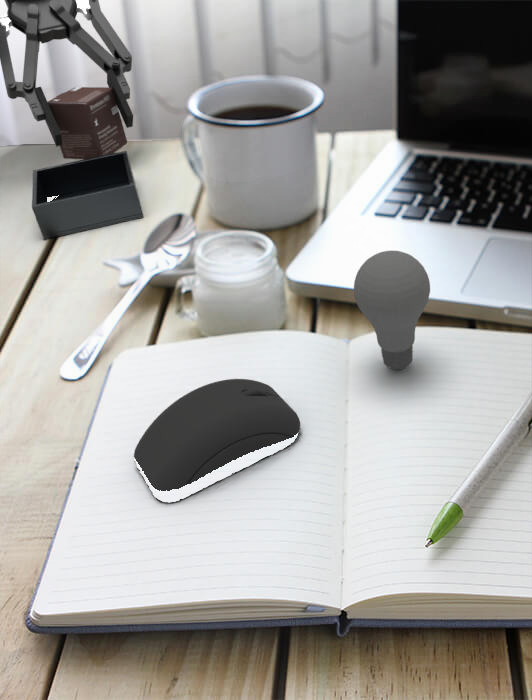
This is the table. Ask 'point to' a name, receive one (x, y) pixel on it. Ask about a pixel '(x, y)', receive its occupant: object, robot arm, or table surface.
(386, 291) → the light bulb
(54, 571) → the table surface
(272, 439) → the computer mouse
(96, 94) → the box
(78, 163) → the dark grey open tray
